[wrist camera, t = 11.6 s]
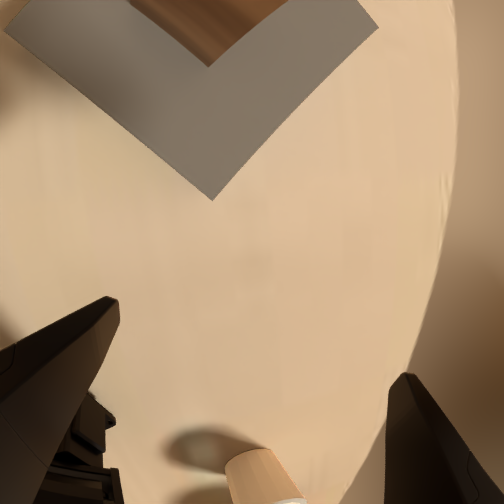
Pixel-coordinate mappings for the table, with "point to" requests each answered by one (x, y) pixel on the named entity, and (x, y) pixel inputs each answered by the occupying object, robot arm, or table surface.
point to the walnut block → (207, 22)
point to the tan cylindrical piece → (261, 479)
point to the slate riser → (193, 75)
